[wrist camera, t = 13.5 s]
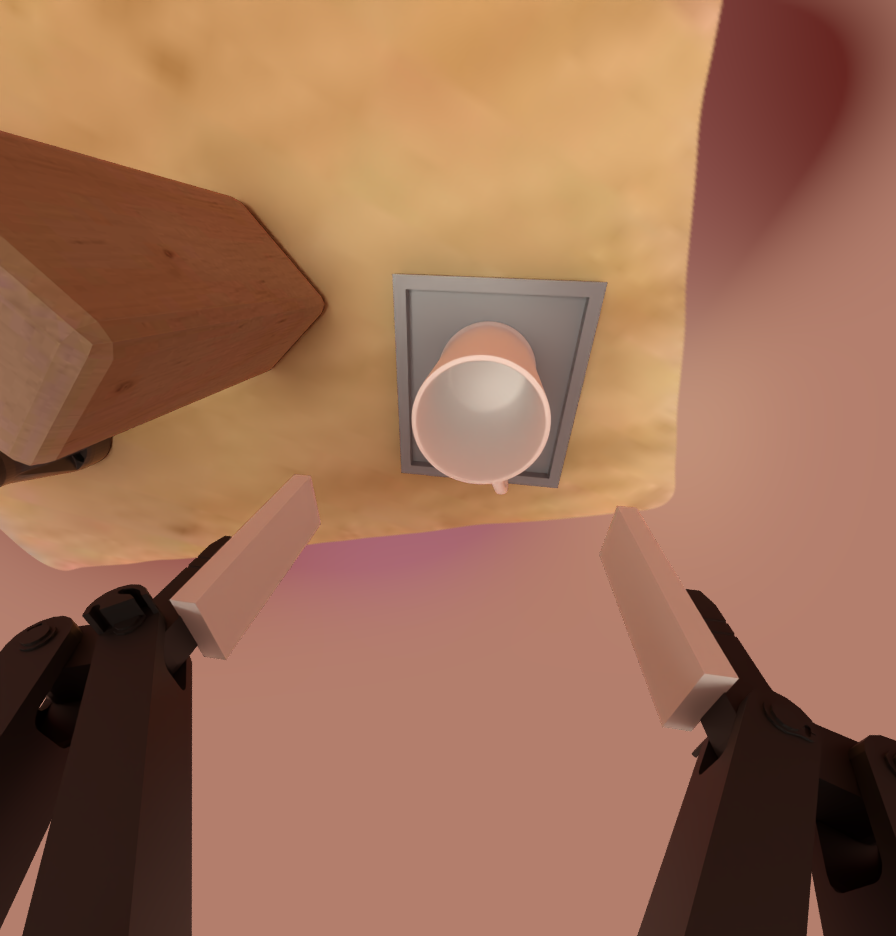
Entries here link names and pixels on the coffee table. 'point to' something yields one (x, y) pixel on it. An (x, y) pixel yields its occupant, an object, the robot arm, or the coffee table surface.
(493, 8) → the coffee table surface
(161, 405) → the wooden block
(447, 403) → the mug
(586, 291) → the tray
